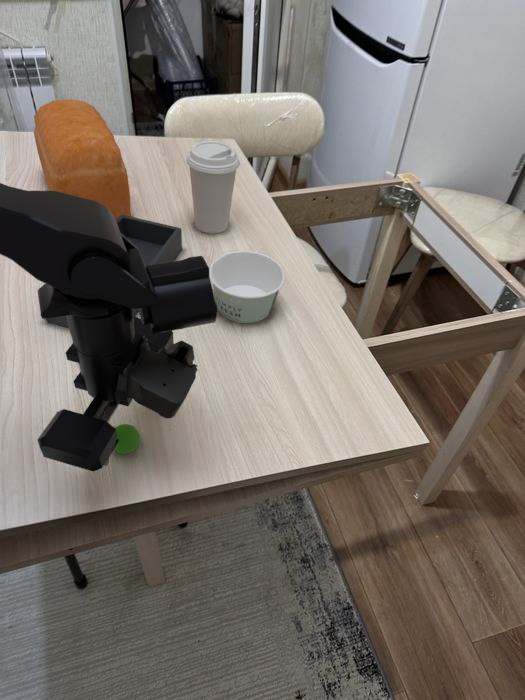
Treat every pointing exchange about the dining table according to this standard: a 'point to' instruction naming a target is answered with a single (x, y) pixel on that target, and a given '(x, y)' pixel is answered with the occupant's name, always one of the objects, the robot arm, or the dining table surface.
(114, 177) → the bread
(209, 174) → the coffee cup
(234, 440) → the dining table surface
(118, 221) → the tray
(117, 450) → the pea
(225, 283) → the food container
